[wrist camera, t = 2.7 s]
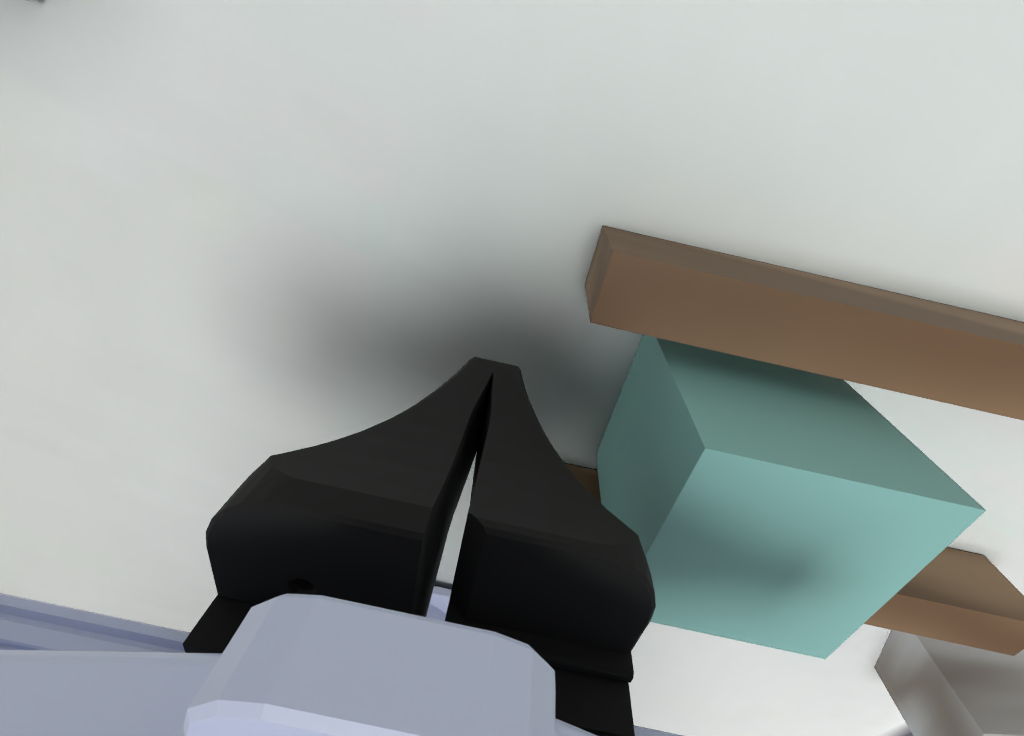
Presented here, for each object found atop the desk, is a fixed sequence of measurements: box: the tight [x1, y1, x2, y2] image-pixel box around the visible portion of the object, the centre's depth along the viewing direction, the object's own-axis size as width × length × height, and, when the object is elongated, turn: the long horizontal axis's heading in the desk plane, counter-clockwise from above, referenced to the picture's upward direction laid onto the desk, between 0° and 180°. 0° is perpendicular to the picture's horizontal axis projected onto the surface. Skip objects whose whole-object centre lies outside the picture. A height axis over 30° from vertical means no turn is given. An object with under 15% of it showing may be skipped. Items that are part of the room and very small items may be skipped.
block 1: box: [596, 335, 986, 659], centre depth 11 cm, size 5×5×6 cm
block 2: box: [874, 630, 1024, 736], centre depth 16 cm, size 4×4×4 cm
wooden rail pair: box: [564, 226, 1024, 656], centre depth 12 cm, size 9×16×2 cm, turn 79°
